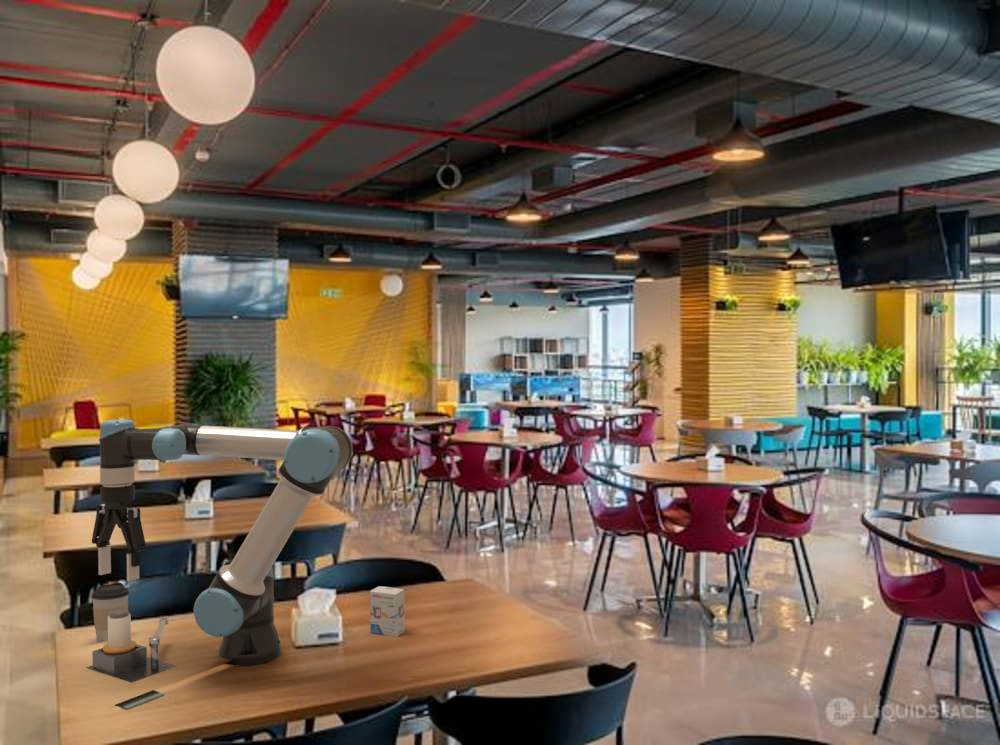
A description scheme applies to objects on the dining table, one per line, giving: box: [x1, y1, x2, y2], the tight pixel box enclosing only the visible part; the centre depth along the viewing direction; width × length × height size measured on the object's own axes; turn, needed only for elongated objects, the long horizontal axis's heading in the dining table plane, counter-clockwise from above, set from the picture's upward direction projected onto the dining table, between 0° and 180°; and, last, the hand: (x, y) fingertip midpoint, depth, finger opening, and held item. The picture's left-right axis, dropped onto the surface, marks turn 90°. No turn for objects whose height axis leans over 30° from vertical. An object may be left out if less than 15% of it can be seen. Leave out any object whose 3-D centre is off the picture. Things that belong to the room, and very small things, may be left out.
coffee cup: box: [91, 581, 130, 644], centre depth 223 cm, size 9×9×15 cm
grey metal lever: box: [148, 617, 169, 647], centre depth 207 cm, size 18×2×2 cm, turn 14°
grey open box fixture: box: [85, 643, 178, 684], centre depth 200 cm, size 18×12×7 cm, turn 58°
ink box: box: [369, 585, 406, 637], centre depth 229 cm, size 9×5×12 cm, turn 68°
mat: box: [114, 689, 165, 710], centre depth 185 cm, size 9×9×1 cm
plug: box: [102, 609, 137, 656], centre depth 201 cm, size 7×7×13 cm
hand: (118, 576), depth 201 cm, fingers open, 10 cm apart
